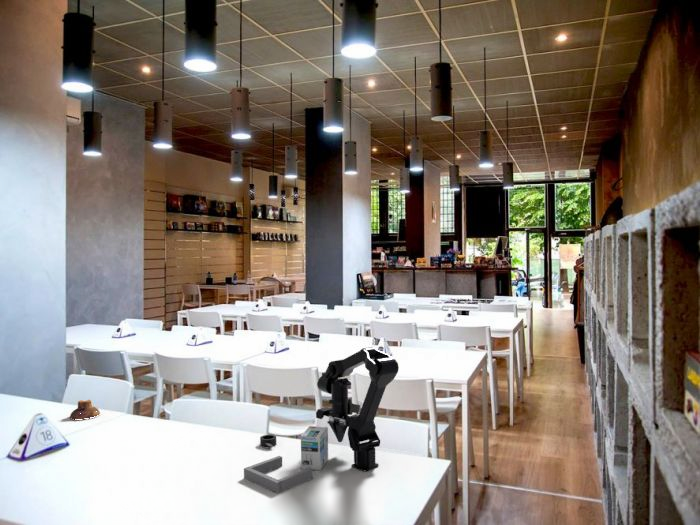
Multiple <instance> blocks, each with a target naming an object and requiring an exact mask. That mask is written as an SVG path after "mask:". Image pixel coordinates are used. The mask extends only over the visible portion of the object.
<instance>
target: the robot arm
mask: <svg viewBox="0 0 700 525" xmlns="http://www.w3.org/2000/svg"><path fill="white" fill-rule="evenodd" d="M362 365H364V366H365V369H366V370H367V371H368V374H369V375H368V376H369V378H370V383H369V386H368V388H367V392H366V394H365V397H364V399H363V403H362V405H360V404H357V403H352V400H351V398H349V386H352V382H351V381H350V380H349V379H348V378H347V377H348V376H350V375H351V374H352V373H353V372H354V370H355V369H356V368H359V367H361V366H362ZM398 372H399V363H398V361H397V360H396V359H395V357H392V356H391V355H389V354H388V353H385V352H383V351H381V350H379V349H377V348H376V347H374V346H370V347H364V348H361V349H360V350H359V351H357V352H355V353H353V354H351V355H349V356H347V357H346V358H343V359H337V360H333V361H332V360H331V361H330V362H329V363H328V366H327V368H326V371H325V372H321V376H320V377H319V378H318V381H317V383H316V385H317V388H318V390H320V391H322V392H324V393H327V394H329V395H331V399H329V400H328V404H330V405H331V407H328V406H324V407H320V408H318V409H317V410H316V411H315V419H316V418H317V419H318V420H319V419H320V420H323V419H324V417H327V418H328V420H327V422H326V423H327V424H328V425H329V427H330V428H331V430H332V432H333V433H334V436H335V437H336V440H337V442H338V443H342V442H343V441H344V438H345V434H346V432H347V438H348V443H349V446H350V447H349V448H350V449H351V450H352V451H353V463H352V464H351V467H353V468H355V469H358V470H360V471H364V472H368V471H371V470H372V469H376V468H377V467H379V463H377V462H376V448H377V447H380V445H381V439H380V438H379V435H378V434H377V431H376V429H377V426H376V424H375V421H374V420H375V418H376V415H377V412H378V409H379V407H380V404H381V401H382V399H383V396H384V393H385V390H386V388H387V386H388V385H389V384H390V383H391V382H393V380H394V379H395V377H396V376H397V374H398ZM353 413H355V414H353Z"/></svg>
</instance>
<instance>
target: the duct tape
mask: <svg viewBox="0 0 700 525" xmlns="http://www.w3.org/2000/svg"><path fill="white" fill-rule="evenodd" d="M275 445H276V446H277V436H276V435H275V434H264V435H262V436H260V438H259V446H260V447H261V446H262V447H261V448H273V447H276V446H275Z"/></svg>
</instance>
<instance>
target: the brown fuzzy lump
mask: <svg viewBox="0 0 700 525" xmlns="http://www.w3.org/2000/svg"><path fill="white" fill-rule="evenodd" d="M96 411H97V412H96ZM80 413H81V414H80ZM99 414H101V412H100V410H99V409H98V407H95V406H93V405H92V400H91V399H87V400H78V401H77V408H76V409H74V410H72V412H71V413H70V415H69V418H72V419H83V418H90V417H94V416H97V415H99ZM99 416H100V415H99ZM72 419H71V420H72Z"/></svg>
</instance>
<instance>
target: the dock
mask: <svg viewBox="0 0 700 525" xmlns="http://www.w3.org/2000/svg"><path fill="white" fill-rule="evenodd" d="M280 467H283V456H281V455H277V456H275V457H272V458H269V459H266V460H263V461H261V462H258V463H255V464H252V465H250V466H247V467H244V468H243V479H245V480H247V481H249V482H251V481H252V483H254V484H256V485H258V486H261V487H262V486H263V488H265V489H267V490H270V491H272V492H273V491H274V493H276V494H279V493H281V492H283V491H286V490H288V489H290V488H293V487H296V486H298V485H301V484H302V483H304V482H307V481H310V480H312V479H313V478H314V474H313V473H314V470H313V468H310V467H309V468H306V469H301V470H299V471H295V472H294V473H292V474H289V475H286V476H285V477H282V478H279V479H277V478H275V477H273V476H270V475H268V474H266V473H268V472H270V470H271V471H273V470H276V469H278V468H280Z"/></svg>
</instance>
